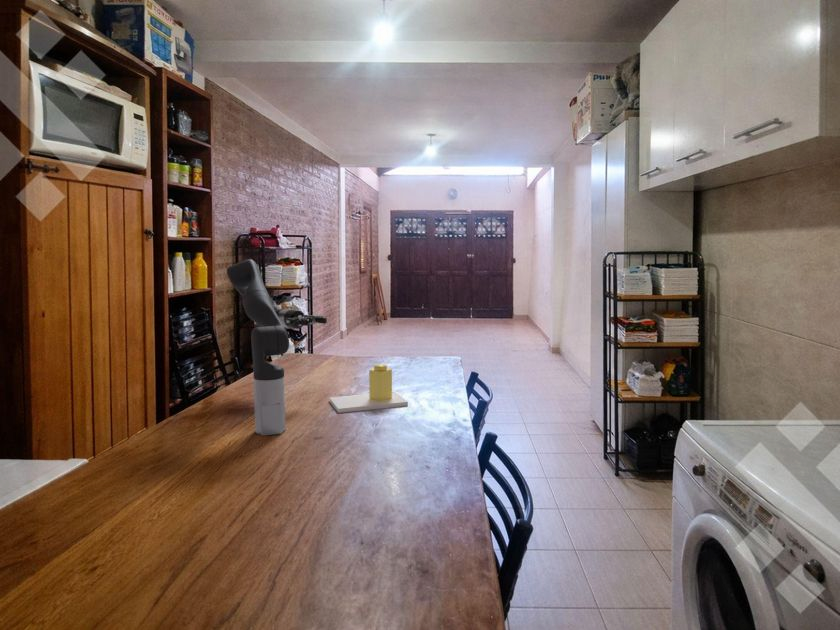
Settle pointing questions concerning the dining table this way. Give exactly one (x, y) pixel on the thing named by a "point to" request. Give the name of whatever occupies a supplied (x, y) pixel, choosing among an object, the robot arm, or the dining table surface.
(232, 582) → the dining table surface
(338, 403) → the plate
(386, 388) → the tall yellow stud brick
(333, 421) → the dining table surface
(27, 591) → the dining table surface
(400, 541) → the dining table surface
